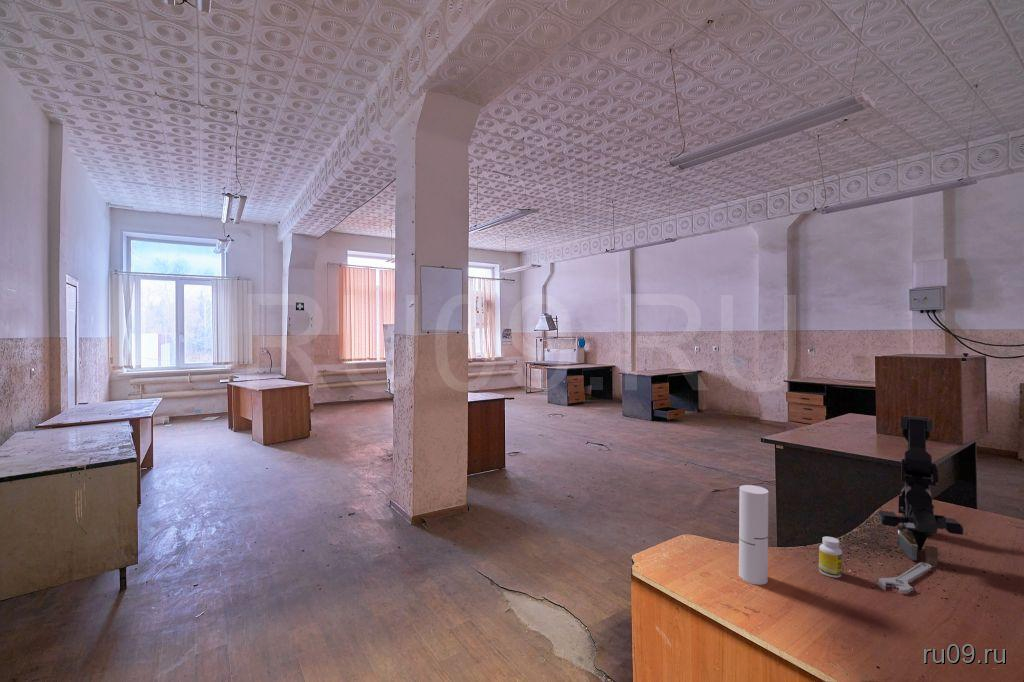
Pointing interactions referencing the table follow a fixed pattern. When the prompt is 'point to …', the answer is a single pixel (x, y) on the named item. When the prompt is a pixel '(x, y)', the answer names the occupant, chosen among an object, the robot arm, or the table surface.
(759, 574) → the cylindrical container
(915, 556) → the gate panel
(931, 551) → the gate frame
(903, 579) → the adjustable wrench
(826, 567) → the supplement bottle
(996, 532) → the table surface
